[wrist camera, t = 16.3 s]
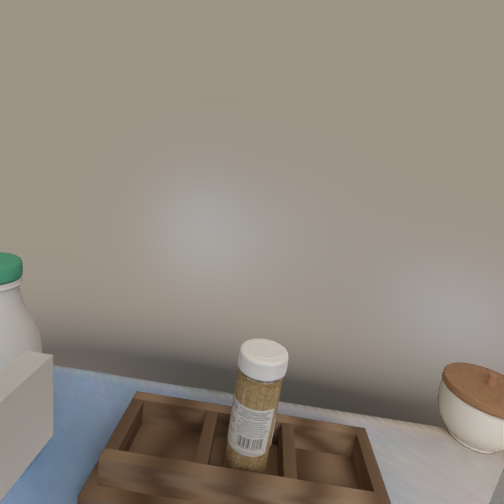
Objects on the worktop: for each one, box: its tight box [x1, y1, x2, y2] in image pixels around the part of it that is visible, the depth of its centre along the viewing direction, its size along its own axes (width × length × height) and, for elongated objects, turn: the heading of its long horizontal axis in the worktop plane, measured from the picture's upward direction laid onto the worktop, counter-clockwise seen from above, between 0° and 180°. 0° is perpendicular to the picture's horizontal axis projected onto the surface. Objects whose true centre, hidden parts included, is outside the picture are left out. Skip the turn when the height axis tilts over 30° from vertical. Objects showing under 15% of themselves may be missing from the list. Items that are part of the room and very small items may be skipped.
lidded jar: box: [438, 363, 504, 454], centre depth 48 cm, size 11×11×9 cm
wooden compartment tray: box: [78, 391, 391, 504], centre depth 37 cm, size 28×12×4 cm, turn 87°
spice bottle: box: [223, 338, 289, 474], centre depth 35 cm, size 5×5×13 cm
